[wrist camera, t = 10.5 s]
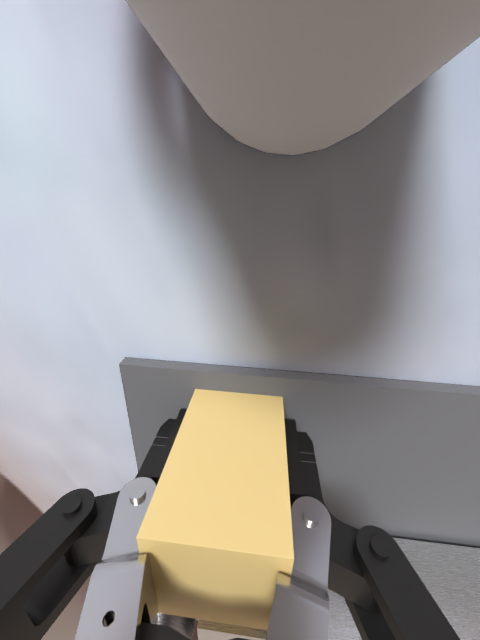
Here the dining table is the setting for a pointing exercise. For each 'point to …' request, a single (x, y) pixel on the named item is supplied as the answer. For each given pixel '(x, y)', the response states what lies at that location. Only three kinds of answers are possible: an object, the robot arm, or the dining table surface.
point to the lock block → (222, 511)
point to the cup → (305, 60)
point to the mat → (349, 439)
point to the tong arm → (435, 572)
